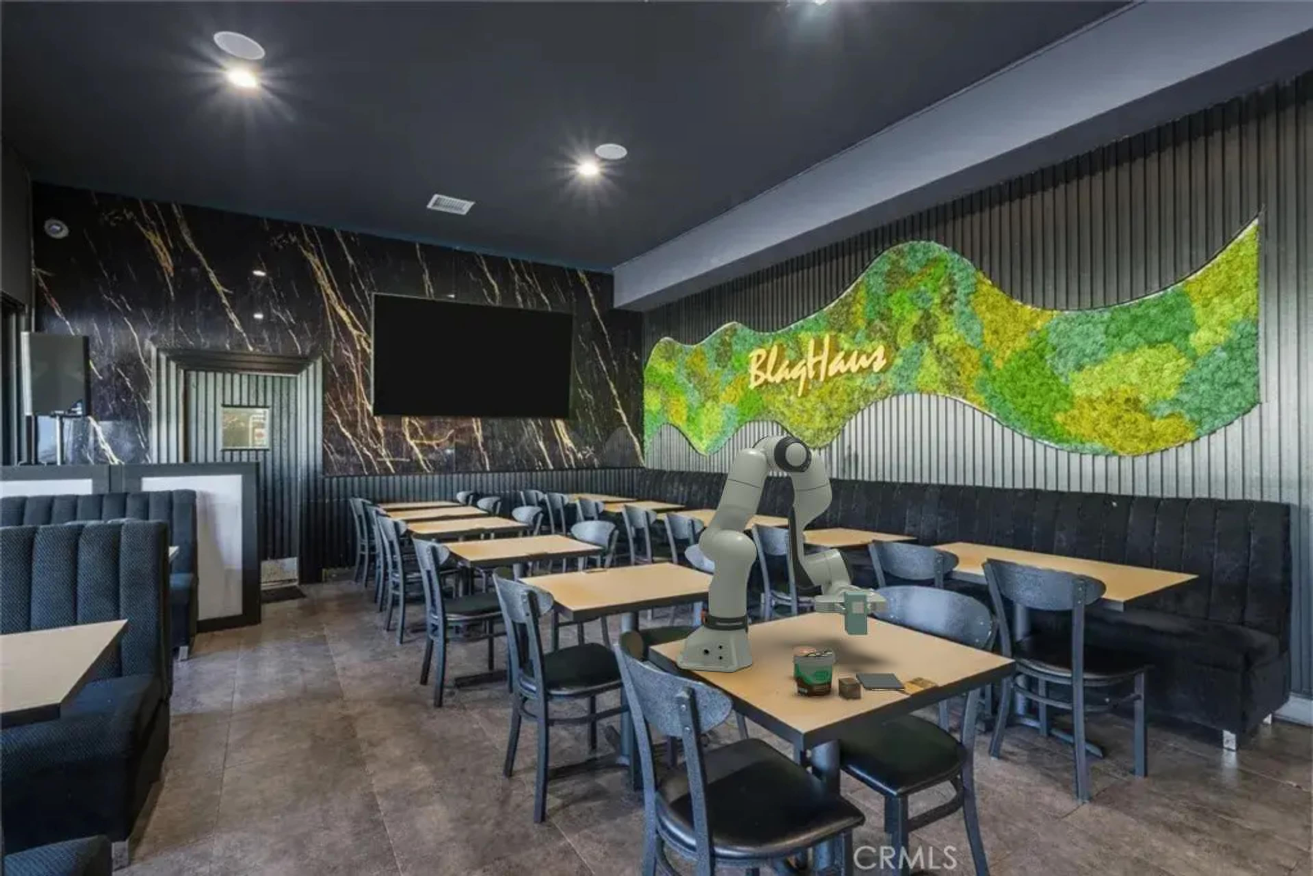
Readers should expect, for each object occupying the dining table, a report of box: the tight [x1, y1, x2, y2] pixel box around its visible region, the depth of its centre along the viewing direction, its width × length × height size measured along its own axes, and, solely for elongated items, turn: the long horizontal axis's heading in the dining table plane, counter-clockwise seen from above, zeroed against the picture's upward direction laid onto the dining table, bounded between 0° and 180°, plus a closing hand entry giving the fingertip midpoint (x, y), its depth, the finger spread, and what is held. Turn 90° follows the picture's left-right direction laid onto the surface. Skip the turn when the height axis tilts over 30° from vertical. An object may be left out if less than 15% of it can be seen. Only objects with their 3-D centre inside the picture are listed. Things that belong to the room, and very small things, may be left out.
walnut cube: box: [837, 676, 862, 701], centre depth 163 cm, size 4×4×4 cm
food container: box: [792, 647, 837, 697], centre depth 165 cm, size 12×6×10 cm, turn 117°
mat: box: [855, 672, 906, 691], centre depth 171 cm, size 10×10×1 cm
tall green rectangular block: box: [843, 591, 868, 636], centre depth 180 cm, size 5×5×11 cm
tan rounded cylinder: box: [793, 645, 817, 682], centre depth 175 cm, size 6×6×8 cm
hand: (856, 611), depth 180 cm, fingers closed on tall green rectangular block, 5 cm apart
